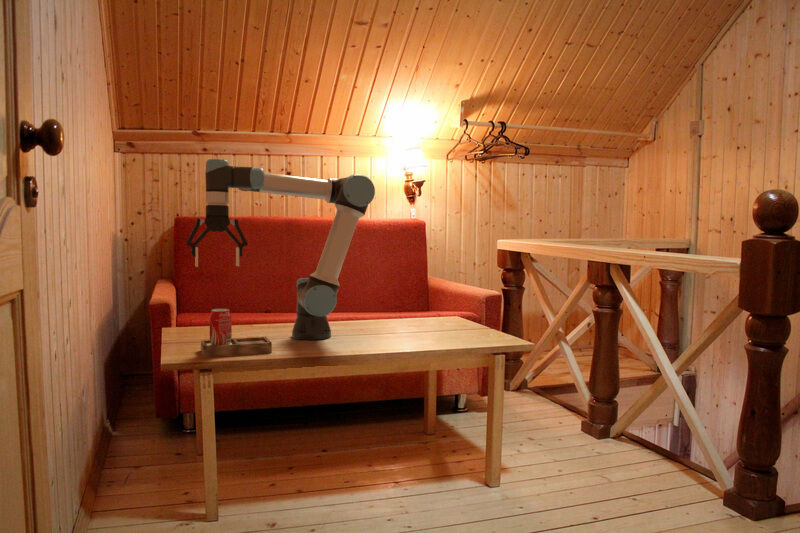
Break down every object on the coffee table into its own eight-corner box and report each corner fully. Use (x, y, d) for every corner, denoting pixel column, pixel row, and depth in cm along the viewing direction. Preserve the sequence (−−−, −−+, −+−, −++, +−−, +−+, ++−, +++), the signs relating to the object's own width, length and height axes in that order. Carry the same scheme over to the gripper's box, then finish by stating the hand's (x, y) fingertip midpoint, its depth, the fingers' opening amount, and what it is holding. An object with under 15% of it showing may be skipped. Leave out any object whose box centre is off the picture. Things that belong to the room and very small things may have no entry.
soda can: (212, 342, 194) (212, 308, 193) (233, 342, 194) (233, 308, 193) (207, 347, 187) (206, 311, 186) (228, 347, 187) (228, 311, 186)
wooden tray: (265, 346, 202) (265, 336, 202) (271, 352, 192) (271, 342, 192) (200, 350, 193) (200, 340, 193) (203, 357, 183) (203, 346, 183)
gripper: (252, 206, 203) (252, 265, 204) (177, 203, 193) (178, 265, 194) (255, 205, 196) (255, 266, 197) (178, 203, 186) (179, 267, 187)
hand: (217, 266), depth 196 cm, fingers open, 13 cm apart
